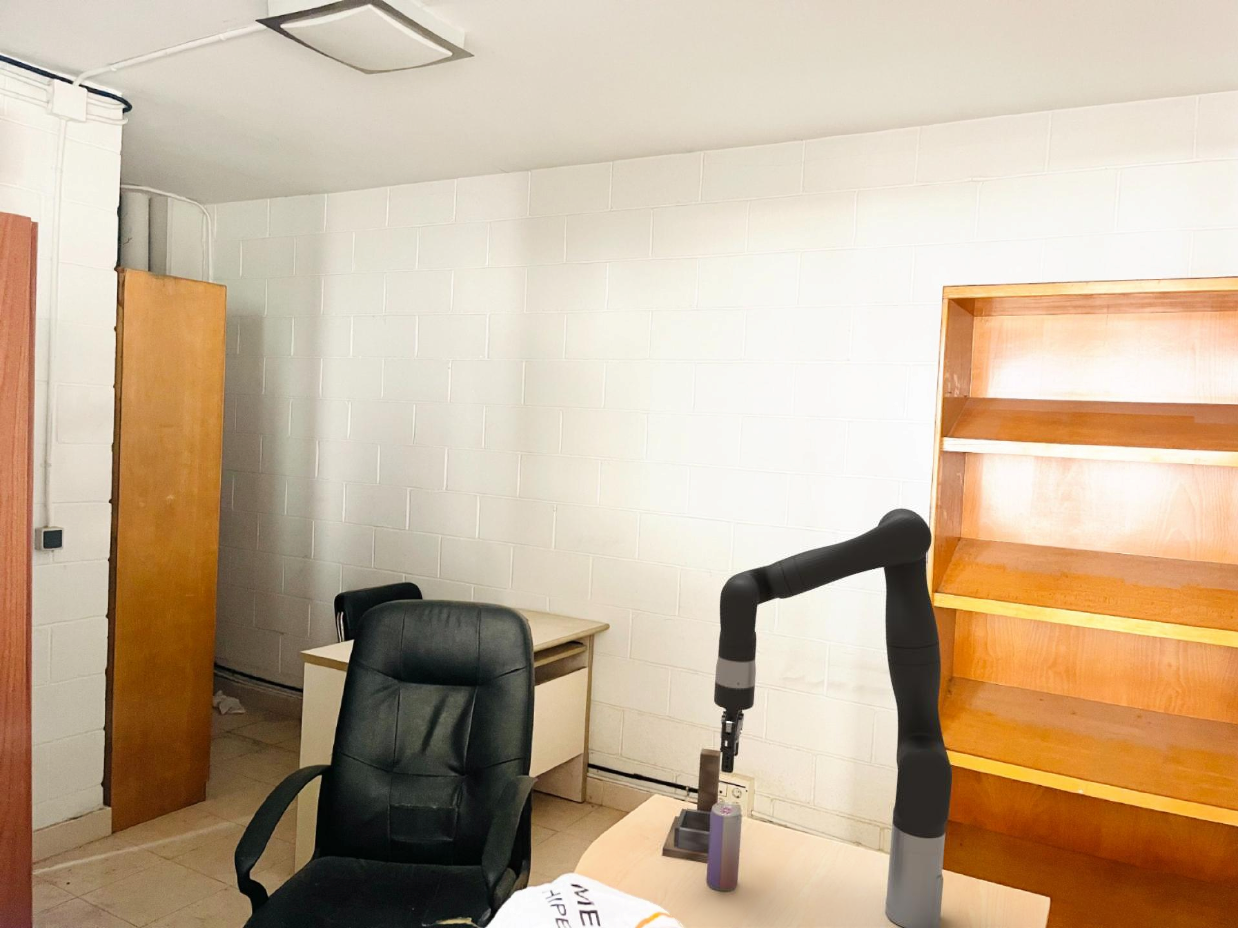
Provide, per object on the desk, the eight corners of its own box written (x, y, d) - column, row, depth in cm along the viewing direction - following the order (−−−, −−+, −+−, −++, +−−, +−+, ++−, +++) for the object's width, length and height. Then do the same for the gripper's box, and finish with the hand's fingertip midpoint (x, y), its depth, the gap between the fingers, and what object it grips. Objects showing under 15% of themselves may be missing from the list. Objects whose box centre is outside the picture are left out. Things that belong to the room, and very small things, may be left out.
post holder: (738, 832, 198) (744, 754, 196) (731, 866, 183) (736, 781, 182) (674, 822, 201) (679, 744, 199) (662, 855, 186) (667, 771, 185)
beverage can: (703, 888, 174) (708, 812, 173) (709, 873, 180) (714, 799, 179) (734, 894, 173) (739, 818, 172) (739, 879, 178) (744, 804, 177)
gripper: (751, 694, 166) (745, 780, 167) (758, 671, 179) (752, 752, 181) (710, 688, 167) (704, 774, 169) (720, 667, 181) (714, 746, 182)
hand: (729, 763), depth 175 cm, fingers open, 8 cm apart
